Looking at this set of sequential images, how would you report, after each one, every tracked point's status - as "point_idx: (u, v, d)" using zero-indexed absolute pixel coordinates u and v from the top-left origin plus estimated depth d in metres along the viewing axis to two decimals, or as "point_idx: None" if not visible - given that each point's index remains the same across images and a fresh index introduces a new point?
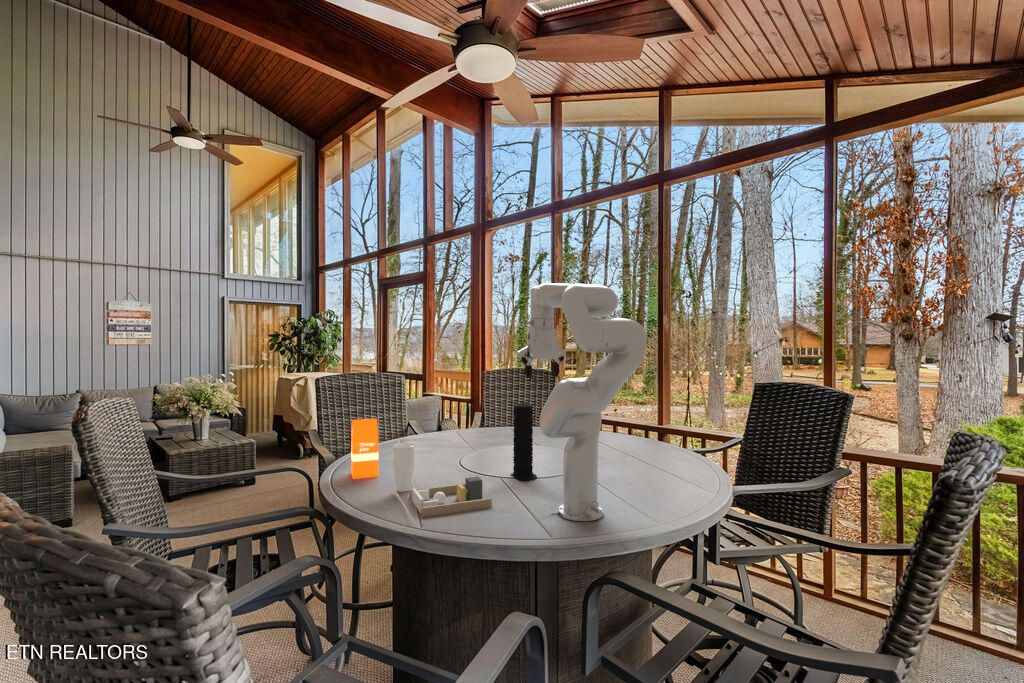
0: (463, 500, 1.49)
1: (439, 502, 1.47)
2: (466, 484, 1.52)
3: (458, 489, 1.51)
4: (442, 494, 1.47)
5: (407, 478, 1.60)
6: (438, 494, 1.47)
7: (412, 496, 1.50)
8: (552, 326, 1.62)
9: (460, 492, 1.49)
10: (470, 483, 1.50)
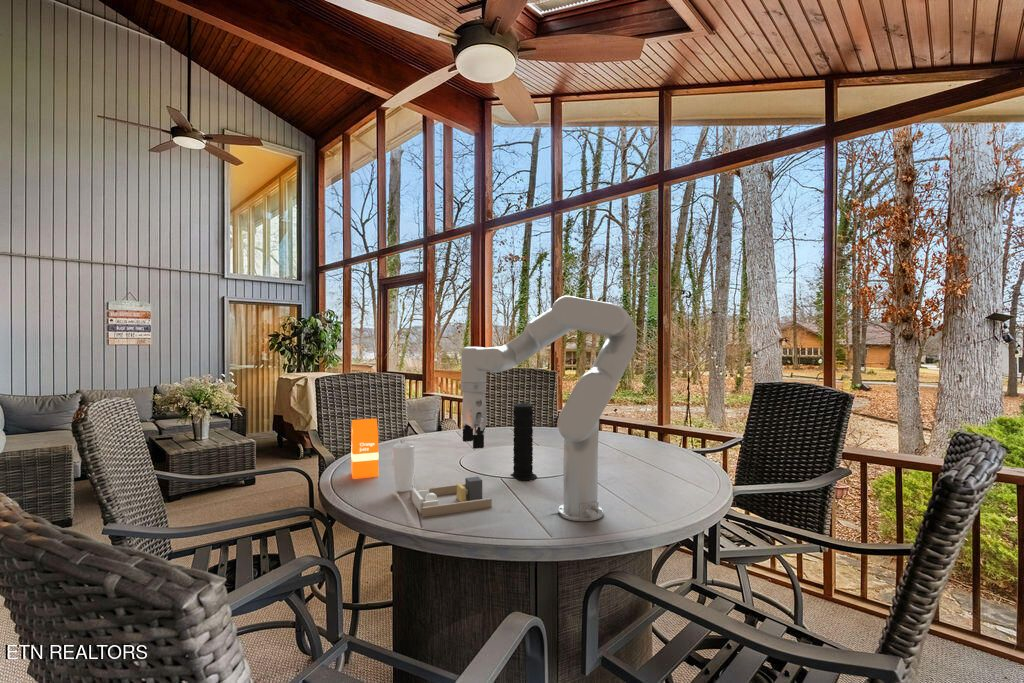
0: (463, 500, 1.49)
1: None
2: (466, 484, 1.52)
3: (458, 489, 1.51)
4: (427, 498, 1.46)
5: (407, 478, 1.60)
6: None
7: (412, 496, 1.50)
8: None
9: (460, 492, 1.49)
10: (470, 483, 1.50)
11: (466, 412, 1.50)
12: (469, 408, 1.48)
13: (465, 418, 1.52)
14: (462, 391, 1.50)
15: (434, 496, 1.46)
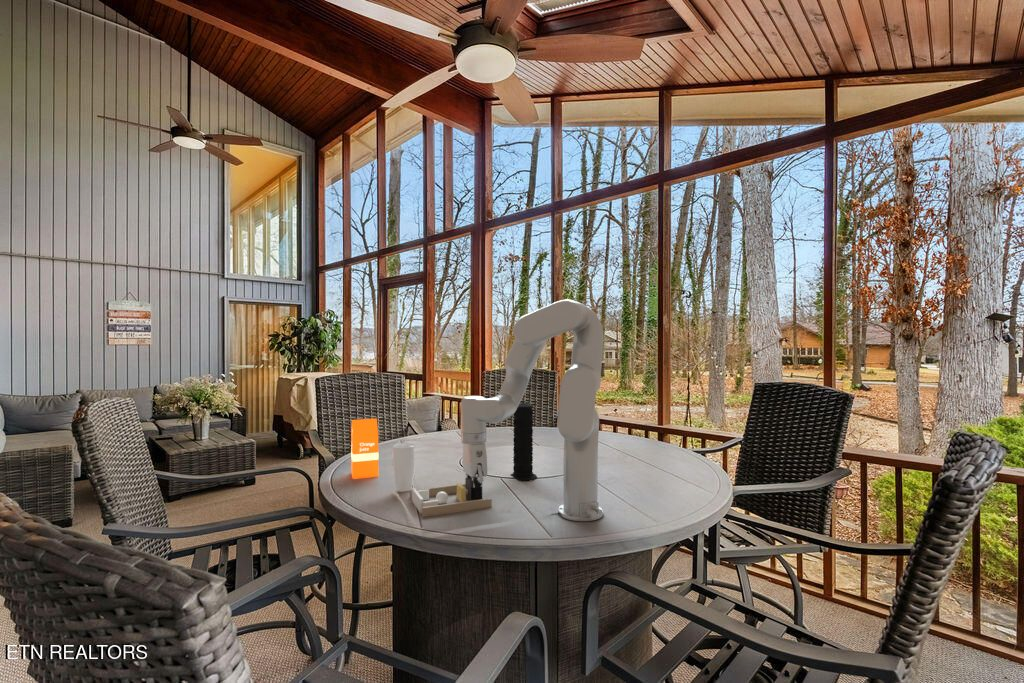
0: (463, 500, 1.49)
1: (440, 501, 1.47)
2: (466, 484, 1.52)
3: (458, 489, 1.51)
4: (446, 495, 1.48)
5: (407, 478, 1.60)
6: (442, 493, 1.48)
7: (412, 496, 1.50)
8: None
9: (460, 492, 1.49)
10: (470, 483, 1.50)
11: (466, 462, 1.50)
12: (470, 458, 1.48)
13: (466, 468, 1.52)
14: (462, 441, 1.50)
15: (445, 501, 1.48)
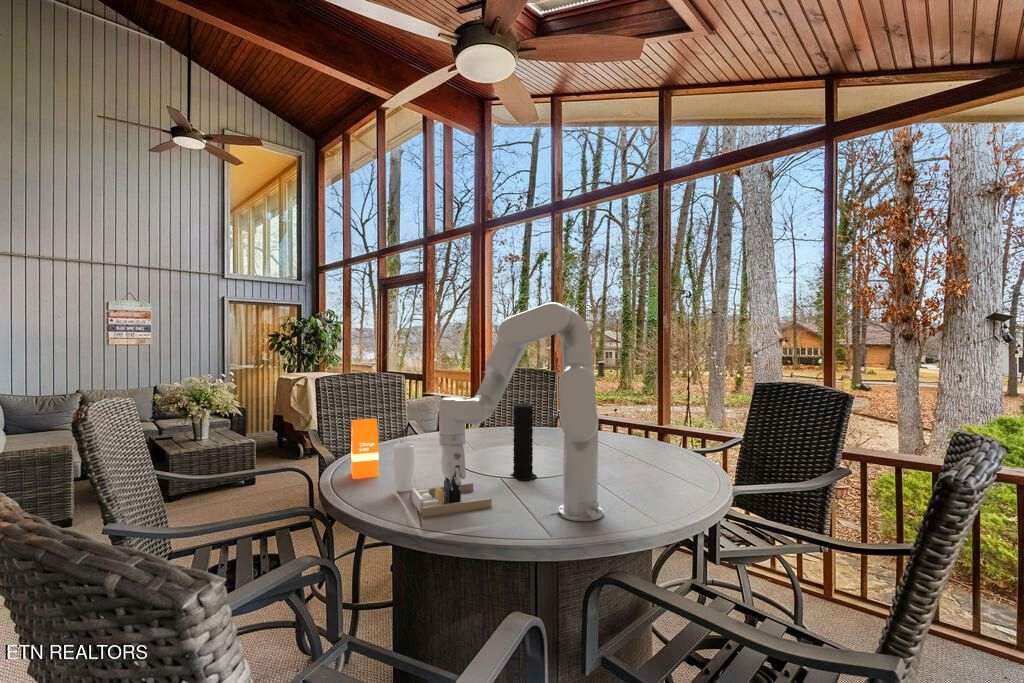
0: (441, 503, 1.46)
1: None
2: (445, 487, 1.50)
3: (436, 492, 1.48)
4: None
5: (407, 478, 1.60)
6: None
7: (412, 496, 1.50)
8: None
9: (438, 495, 1.47)
10: (448, 485, 1.47)
11: (444, 464, 1.48)
12: (447, 461, 1.46)
13: (444, 470, 1.49)
14: (440, 443, 1.47)
15: (426, 496, 1.45)
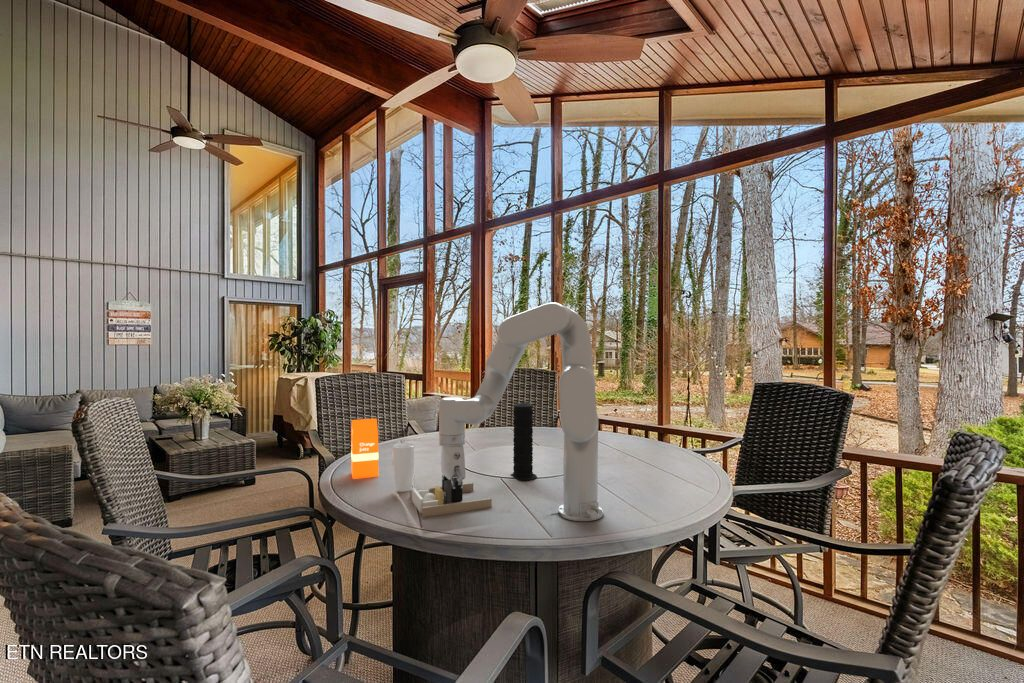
0: (441, 503, 1.46)
1: None
2: (444, 487, 1.50)
3: (436, 492, 1.48)
4: (426, 498, 1.46)
5: (407, 478, 1.60)
6: None
7: (412, 496, 1.50)
8: None
9: (438, 495, 1.47)
10: (448, 485, 1.47)
11: (444, 464, 1.48)
12: (447, 461, 1.46)
13: (444, 470, 1.49)
14: (440, 443, 1.47)
15: (432, 496, 1.46)
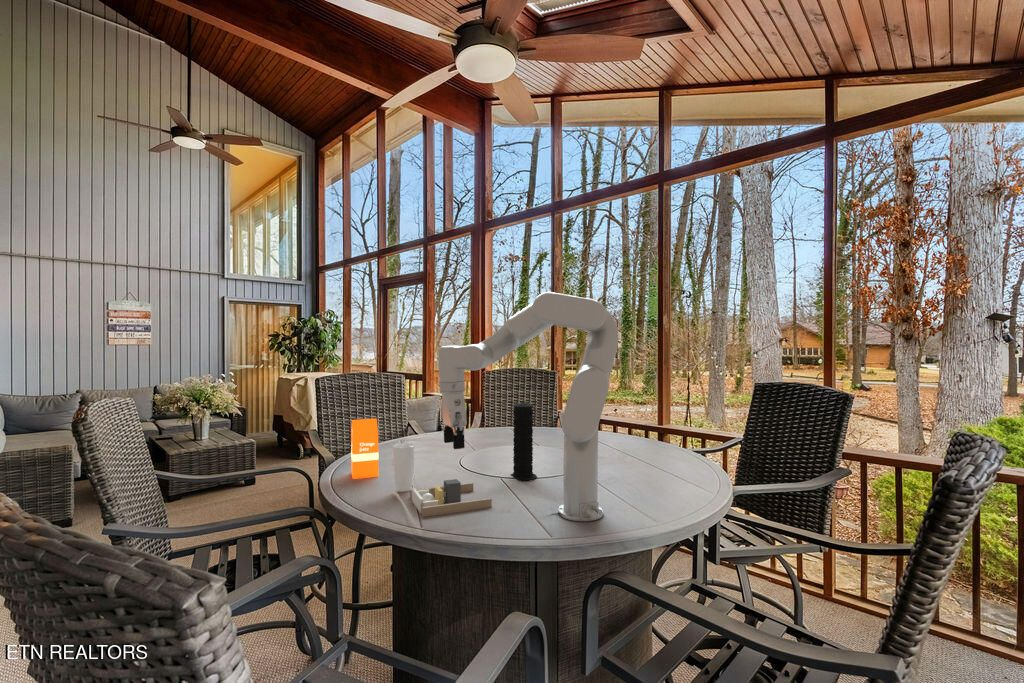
0: (441, 503, 1.46)
1: None
2: (444, 487, 1.50)
3: (436, 492, 1.48)
4: (423, 500, 1.45)
5: (407, 478, 1.60)
6: None
7: (412, 496, 1.50)
8: None
9: (438, 495, 1.47)
10: (448, 485, 1.47)
11: (445, 412, 1.47)
12: (448, 408, 1.45)
13: (445, 419, 1.49)
14: (440, 391, 1.47)
15: (429, 496, 1.46)
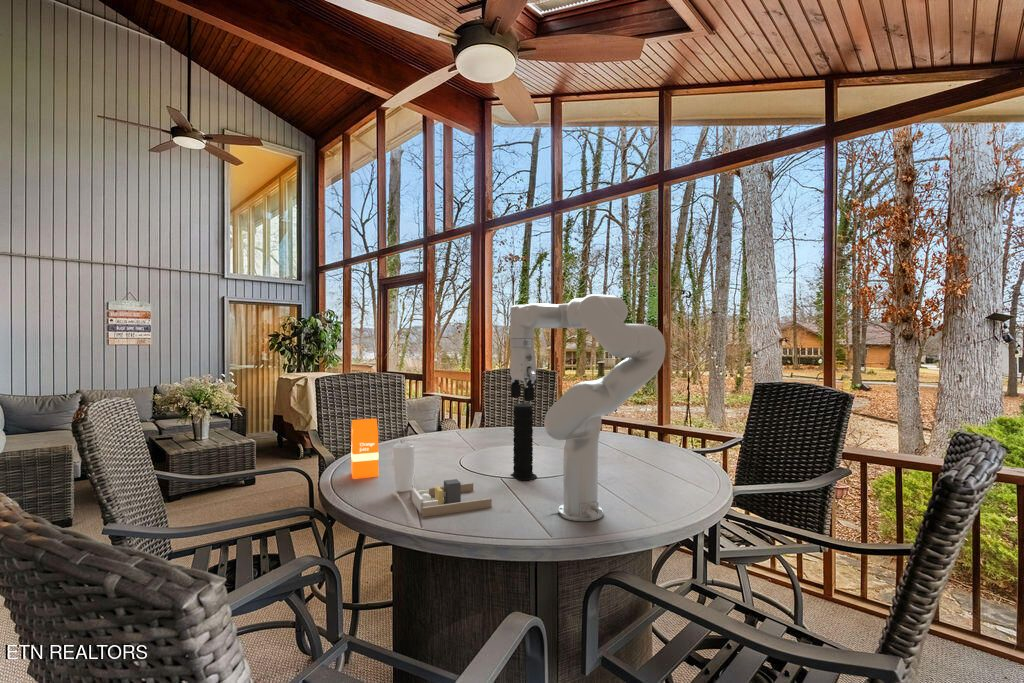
0: (441, 503, 1.46)
1: (429, 500, 1.45)
2: (444, 487, 1.50)
3: (436, 492, 1.48)
4: None
5: (407, 478, 1.60)
6: None
7: (412, 496, 1.50)
8: None
9: (438, 495, 1.47)
10: (448, 485, 1.47)
11: (516, 367, 1.57)
12: (519, 362, 1.55)
13: (514, 373, 1.59)
14: (512, 347, 1.57)
15: (425, 497, 1.45)
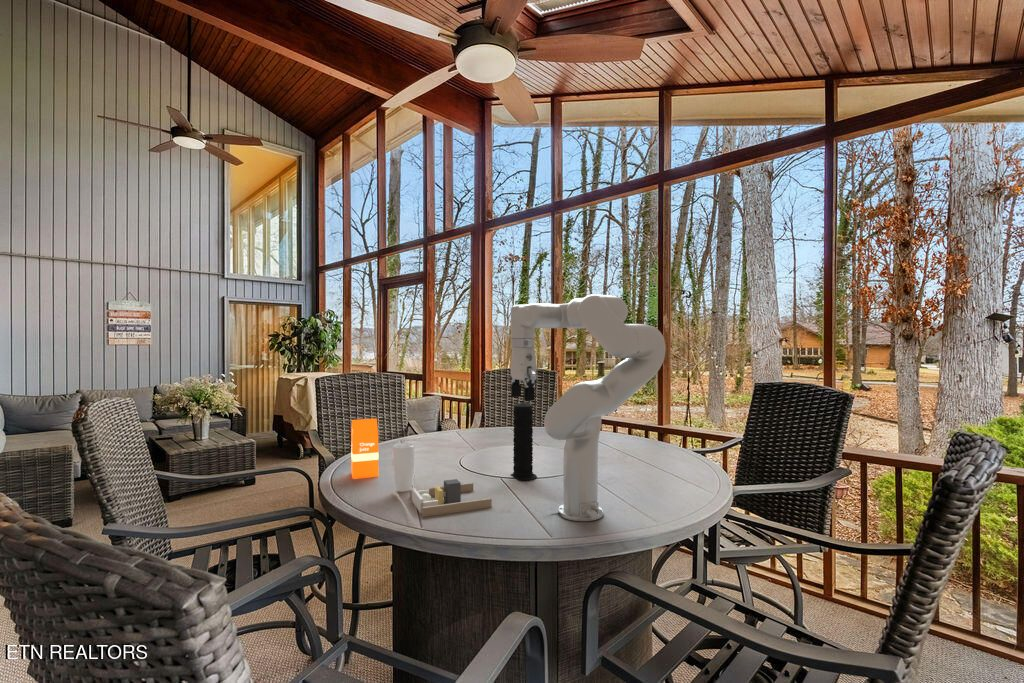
0: (441, 503, 1.46)
1: (429, 500, 1.45)
2: (444, 487, 1.50)
3: (436, 492, 1.48)
4: None
5: (407, 478, 1.60)
6: None
7: (412, 496, 1.50)
8: None
9: (438, 495, 1.47)
10: (448, 485, 1.47)
11: (516, 367, 1.57)
12: (520, 362, 1.55)
13: (515, 373, 1.59)
14: (512, 347, 1.57)
15: (425, 497, 1.45)
